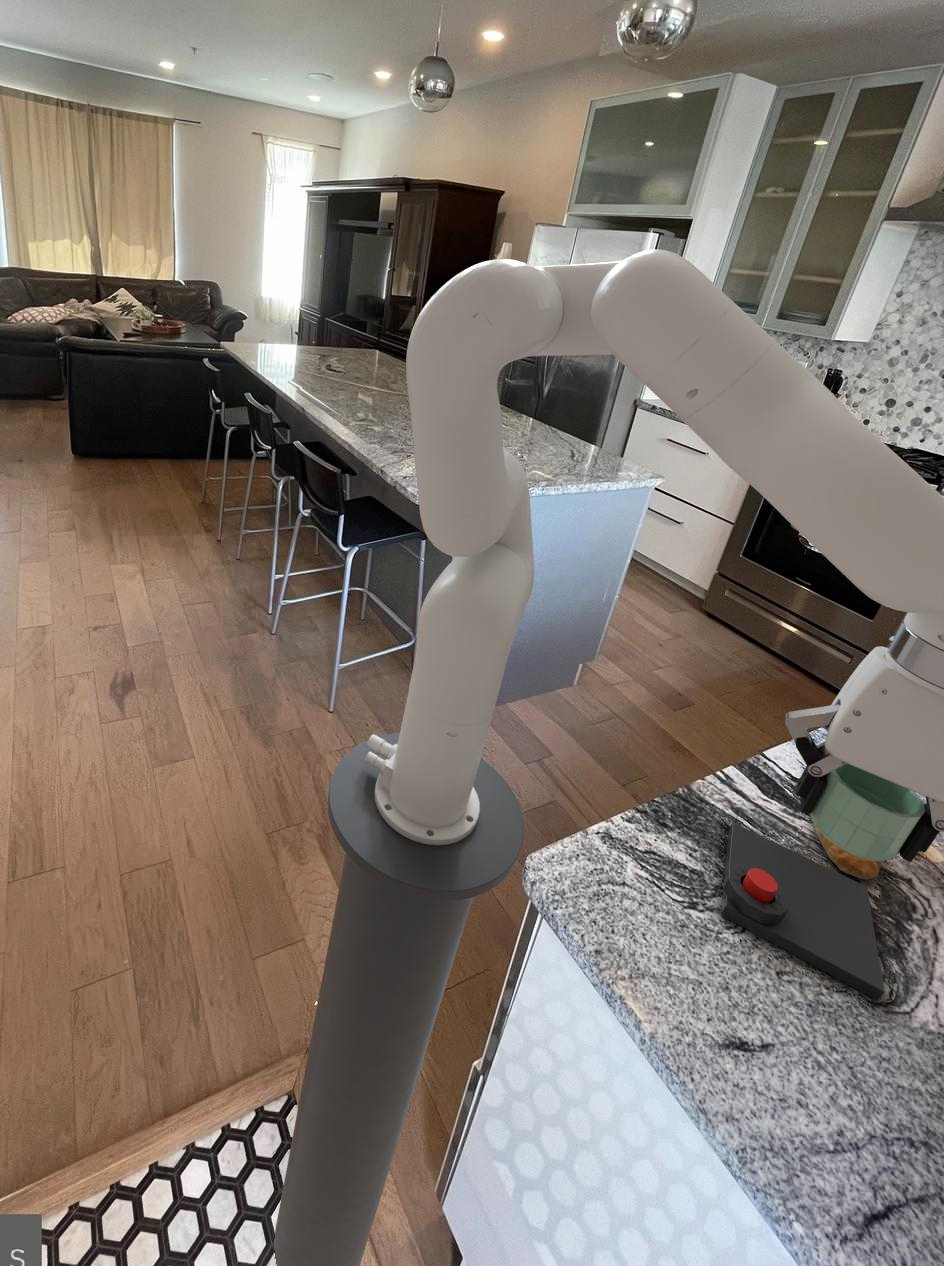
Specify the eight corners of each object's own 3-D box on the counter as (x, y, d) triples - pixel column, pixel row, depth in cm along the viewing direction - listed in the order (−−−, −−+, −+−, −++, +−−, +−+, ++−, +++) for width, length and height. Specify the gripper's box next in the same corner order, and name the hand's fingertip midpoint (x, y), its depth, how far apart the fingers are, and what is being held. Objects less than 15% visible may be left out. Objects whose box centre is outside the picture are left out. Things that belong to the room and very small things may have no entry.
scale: (716, 913, 67) (727, 893, 66) (725, 828, 78) (734, 810, 77) (878, 1001, 60) (892, 981, 59) (862, 895, 72) (873, 876, 71)
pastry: (888, 896, 72) (904, 872, 71) (821, 868, 75) (835, 845, 73) (867, 837, 80) (881, 815, 79) (807, 814, 83) (819, 792, 81)
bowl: (806, 835, 56) (832, 788, 54) (805, 790, 61) (829, 746, 59) (899, 879, 53) (931, 831, 50) (889, 827, 58) (918, 783, 56)
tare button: (741, 893, 66) (748, 881, 66) (743, 874, 69) (748, 863, 68) (771, 908, 65) (778, 897, 65) (771, 889, 68) (778, 877, 67)
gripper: (1080, 688, 49) (964, 852, 56) (821, 604, 57) (747, 756, 64) (1121, 739, 43) (985, 915, 50) (825, 636, 51) (743, 801, 58)
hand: (852, 825), depth 57 cm, fingers closed on bowl, 6 cm apart
